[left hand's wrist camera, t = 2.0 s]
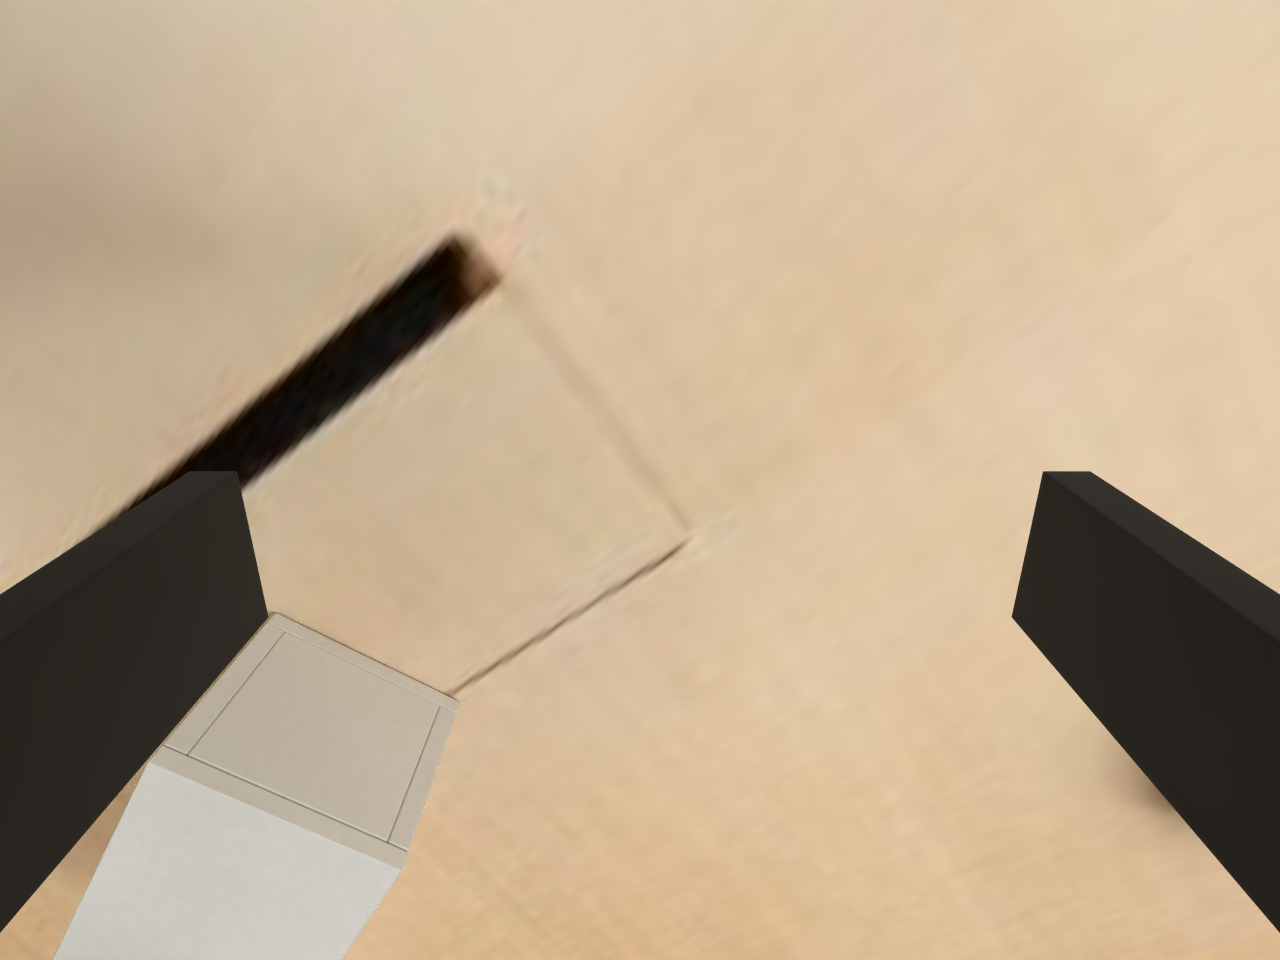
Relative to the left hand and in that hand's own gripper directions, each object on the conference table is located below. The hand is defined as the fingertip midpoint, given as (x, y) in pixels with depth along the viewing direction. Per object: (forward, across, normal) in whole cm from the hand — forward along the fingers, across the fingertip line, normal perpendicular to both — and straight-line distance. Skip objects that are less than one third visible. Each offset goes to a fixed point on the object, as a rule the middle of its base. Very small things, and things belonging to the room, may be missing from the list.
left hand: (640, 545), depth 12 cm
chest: (+18, -17, -22) cm, 33 cm away
